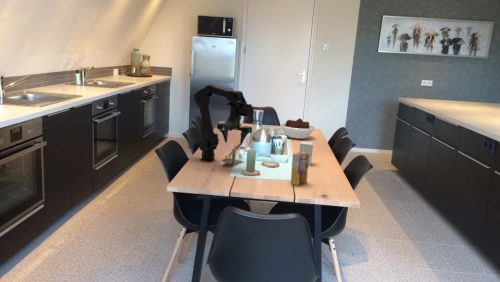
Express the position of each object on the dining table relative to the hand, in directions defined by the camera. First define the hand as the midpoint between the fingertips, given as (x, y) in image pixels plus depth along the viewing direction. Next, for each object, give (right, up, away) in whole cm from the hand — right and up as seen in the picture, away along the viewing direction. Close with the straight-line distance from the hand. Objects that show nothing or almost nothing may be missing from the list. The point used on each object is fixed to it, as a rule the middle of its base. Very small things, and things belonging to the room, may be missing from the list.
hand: (233, 143), depth 223 cm
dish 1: (+9, -15, -6) cm, 19 cm away
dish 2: (+20, -12, +12) cm, 27 cm away
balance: (0, -11, +10) cm, 15 cm away
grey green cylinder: (+9, -14, -7) cm, 18 cm away
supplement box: (+41, -12, +20) cm, 47 cm away
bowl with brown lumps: (+45, +4, +98) cm, 108 cm away
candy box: (+33, -20, -18) cm, 42 cm away
